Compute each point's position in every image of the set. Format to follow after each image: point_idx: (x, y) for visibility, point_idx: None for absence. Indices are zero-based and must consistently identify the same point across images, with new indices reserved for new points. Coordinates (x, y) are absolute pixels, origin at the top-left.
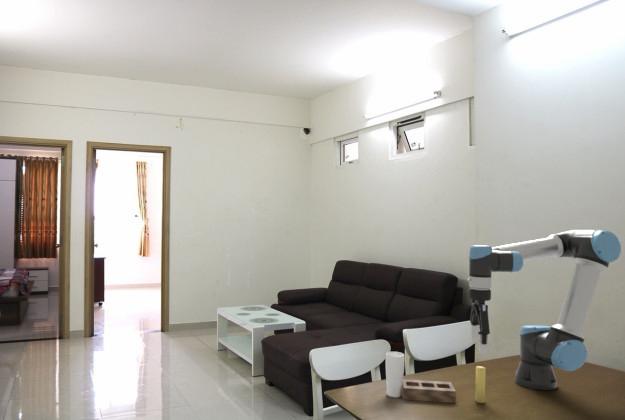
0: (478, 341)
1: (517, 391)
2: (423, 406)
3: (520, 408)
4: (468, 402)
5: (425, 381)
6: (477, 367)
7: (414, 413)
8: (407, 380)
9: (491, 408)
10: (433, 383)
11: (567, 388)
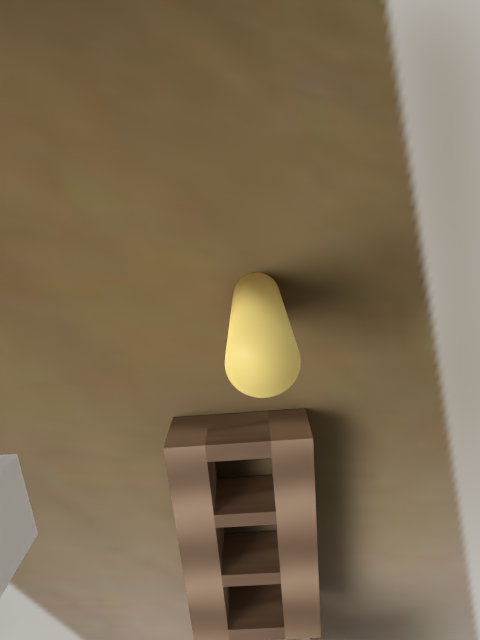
0: (3, 479)
1: (4, 33)
2: (375, 529)
3: (309, 86)
4: None
5: (196, 557)
6: (268, 388)
7: (456, 560)
8: (207, 624)
9: (342, 252)
10: (216, 526)
11: None
